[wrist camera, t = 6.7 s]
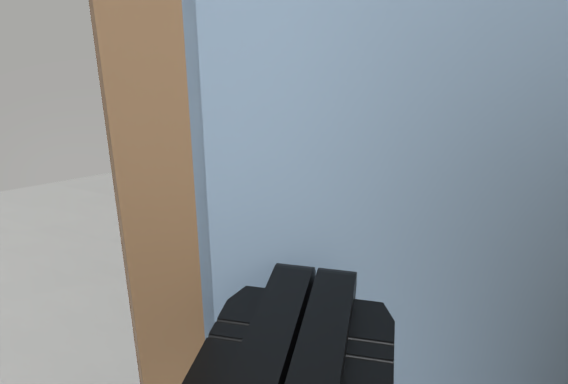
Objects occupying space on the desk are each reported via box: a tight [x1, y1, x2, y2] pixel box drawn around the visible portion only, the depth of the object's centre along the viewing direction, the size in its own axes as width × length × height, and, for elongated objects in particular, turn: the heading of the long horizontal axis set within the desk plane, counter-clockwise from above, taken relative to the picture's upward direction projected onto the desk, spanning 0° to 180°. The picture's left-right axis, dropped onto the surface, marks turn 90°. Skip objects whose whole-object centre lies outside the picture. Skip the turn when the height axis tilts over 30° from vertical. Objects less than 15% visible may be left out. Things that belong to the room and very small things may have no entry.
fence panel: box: [89, 0, 568, 384], centre depth 12 cm, size 14×1×14 cm, turn 112°
